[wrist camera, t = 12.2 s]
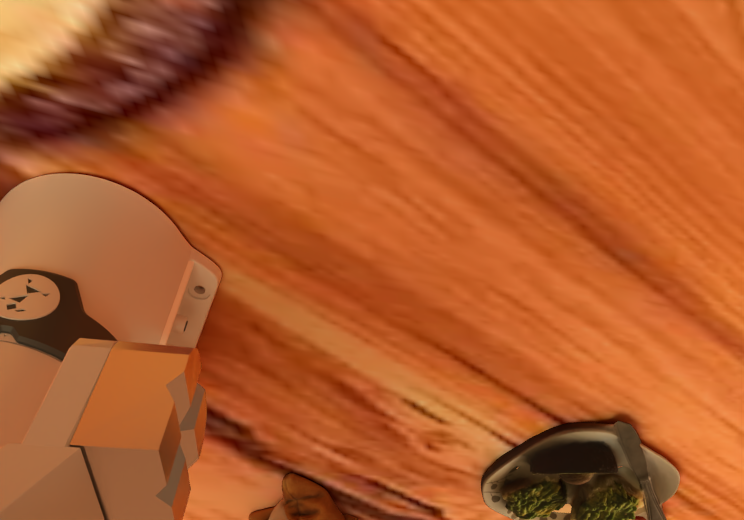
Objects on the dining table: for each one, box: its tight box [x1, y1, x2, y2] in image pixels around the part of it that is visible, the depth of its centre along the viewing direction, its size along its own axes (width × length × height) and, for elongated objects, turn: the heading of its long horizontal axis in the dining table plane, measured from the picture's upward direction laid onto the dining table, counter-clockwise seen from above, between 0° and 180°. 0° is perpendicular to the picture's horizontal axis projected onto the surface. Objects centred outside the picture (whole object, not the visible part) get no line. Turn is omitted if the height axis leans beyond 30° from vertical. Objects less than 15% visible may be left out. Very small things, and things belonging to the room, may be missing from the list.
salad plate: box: [481, 421, 680, 520], centre depth 68 cm, size 19×18×5 cm
